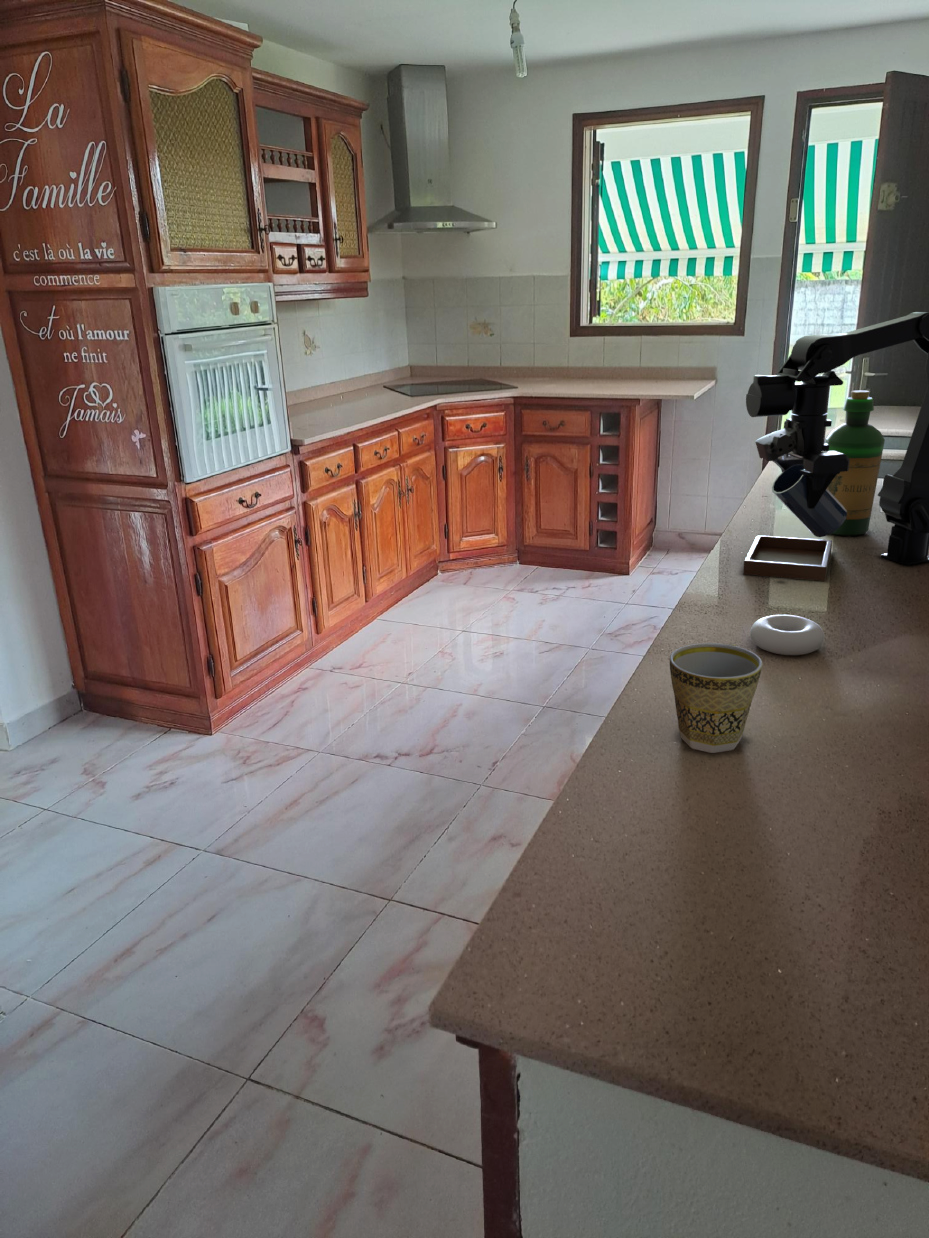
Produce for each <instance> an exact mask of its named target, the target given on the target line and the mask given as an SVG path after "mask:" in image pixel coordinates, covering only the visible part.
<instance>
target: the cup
mask: <svg viewBox="0 0 929 1238" xmlns="http://www.w3.org/2000/svg"><path fill="white" fill-rule="evenodd" d="M800 470H805V468H804V465H803V464H802V463H799V464H795V465H792V466H790V467H789V468H787V469H786V470H784V471H783V472H782V471H781V472H780V473H779V475H778V476H777V477H776V478H775V479H774V481H773V483H772V485H771V493H772V494H773V495H774V496H775V497H776V498H777V499H778V500H779V501H780V502H781V503H782V504H783V505H784V506H785V507H786V508H787V509H788V510H789V511H790V512H791V513H792V514H793V516H794V517H796V518H797V519H798V521H799V522H800V523H801V524H802V525H803V526H804V527H805V528H806V529H807V530H808V531H809V532H810V533H811V534H812V535H813V536H814V537H816V538H824V537H827V536H830V535H832V534H831V533H833V532H834V531H836V530H837V529H838V528H839V527H840V526H841V525H842V524H843V522H844V521H845V519H846V517H847V511H846V509H845V508H844V506H843V505H842V504H841V503H840V502H839V501H838V500H837V499H836V498H835V497H834V496H833V494H832V493H831V492H830V491H829V490H828V489H826V490H825V492H824V494H823V495H822V497H821V498H820V500H819V502H818V503H817V505H816V506H815V508H813V509H809V508H808V507H807V480H806V478H805V477H804V475H803V474H802V473H801V472H800Z"/></svg>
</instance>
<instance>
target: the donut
mask: <svg viewBox="0 0 929 1238" xmlns="http://www.w3.org/2000/svg"><path fill="white" fill-rule="evenodd" d="M749 634H750V637H751V640H752V642H753V643H754V644H755V645H756V646H757V647H758V648H759V649H762V650H763V651H766V652H768V653H772V654H776V655H782V656H801V655H802V656H803V655H808V654H811V653H814V652H815V651H817V650H818V649H819V648H821V647H822V645H823V643H824V640H825V632H824V631H823V629H822V627H821V626H820V625H819V624H818V623H817V622H815V621H813V620H811V619H809V618H806V617H803V616H798V615H793V614H773V615H767V616H763V617H761V618H759V619H757V620H756V621H755V622H754V623H753V624H752V626H751V628H750V631H749Z"/></svg>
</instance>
